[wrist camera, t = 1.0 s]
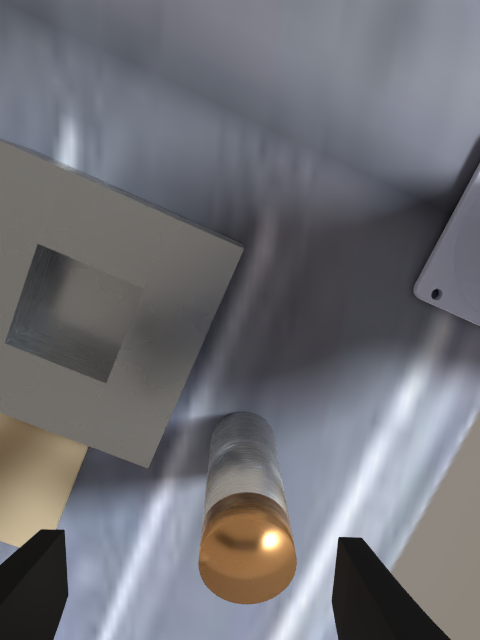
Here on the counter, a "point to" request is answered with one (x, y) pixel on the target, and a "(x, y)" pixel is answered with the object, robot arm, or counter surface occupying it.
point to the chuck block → (99, 304)
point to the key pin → (245, 514)
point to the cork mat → (34, 478)
